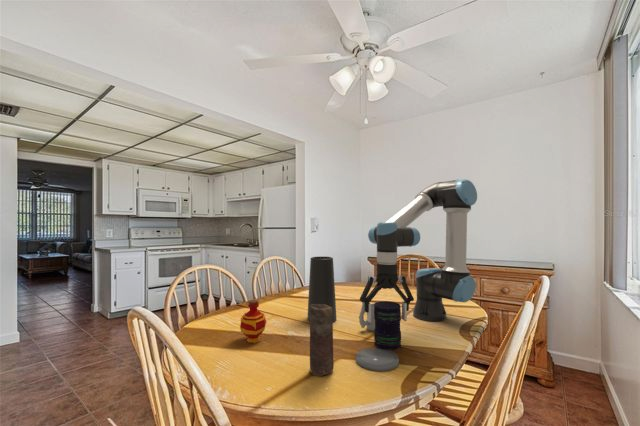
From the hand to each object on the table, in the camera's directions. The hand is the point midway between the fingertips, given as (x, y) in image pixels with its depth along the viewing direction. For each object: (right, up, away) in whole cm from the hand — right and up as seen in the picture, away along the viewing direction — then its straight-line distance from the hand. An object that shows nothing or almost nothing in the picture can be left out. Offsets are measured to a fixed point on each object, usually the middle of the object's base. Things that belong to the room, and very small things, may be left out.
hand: (386, 320), depth 114 cm
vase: (-24, -10, +30) cm, 40 cm away
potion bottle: (-51, -10, +5) cm, 52 cm away
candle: (-24, -9, -20) cm, 32 cm away
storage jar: (0, -9, 0) cm, 9 cm away
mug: (-3, -10, +17) cm, 20 cm away
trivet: (-6, -9, -13) cm, 17 cm away
